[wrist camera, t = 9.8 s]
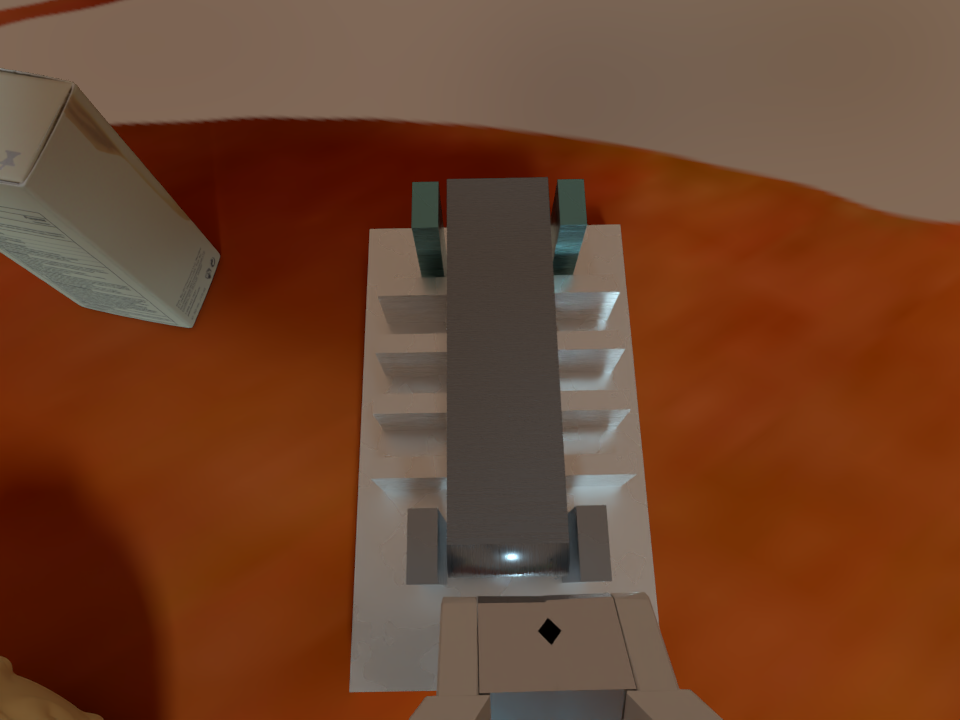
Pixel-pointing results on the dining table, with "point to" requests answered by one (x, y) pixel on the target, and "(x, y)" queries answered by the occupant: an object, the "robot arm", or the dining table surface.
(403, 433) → the grey dish rack
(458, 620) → the robot arm
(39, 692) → the sculpture
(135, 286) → the skincare box
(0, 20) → the dining table surface
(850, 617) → the dining table surface
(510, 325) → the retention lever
